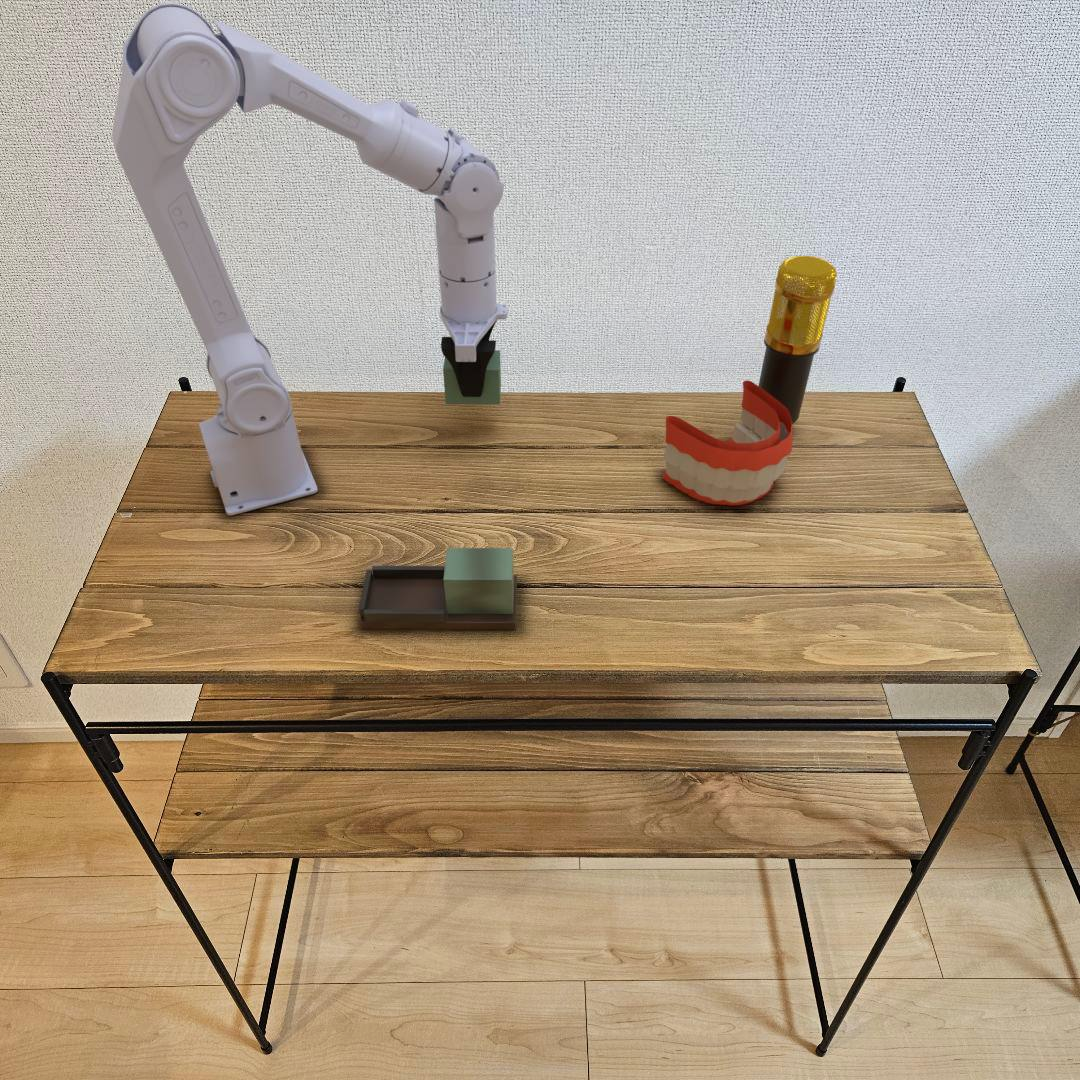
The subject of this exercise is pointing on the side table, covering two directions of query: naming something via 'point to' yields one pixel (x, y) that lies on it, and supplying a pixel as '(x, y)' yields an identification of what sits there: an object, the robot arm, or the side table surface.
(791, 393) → the black gold cylinder
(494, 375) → the block
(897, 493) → the side table surface
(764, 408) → the toy
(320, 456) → the side table surface
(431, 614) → the dark brown tray
